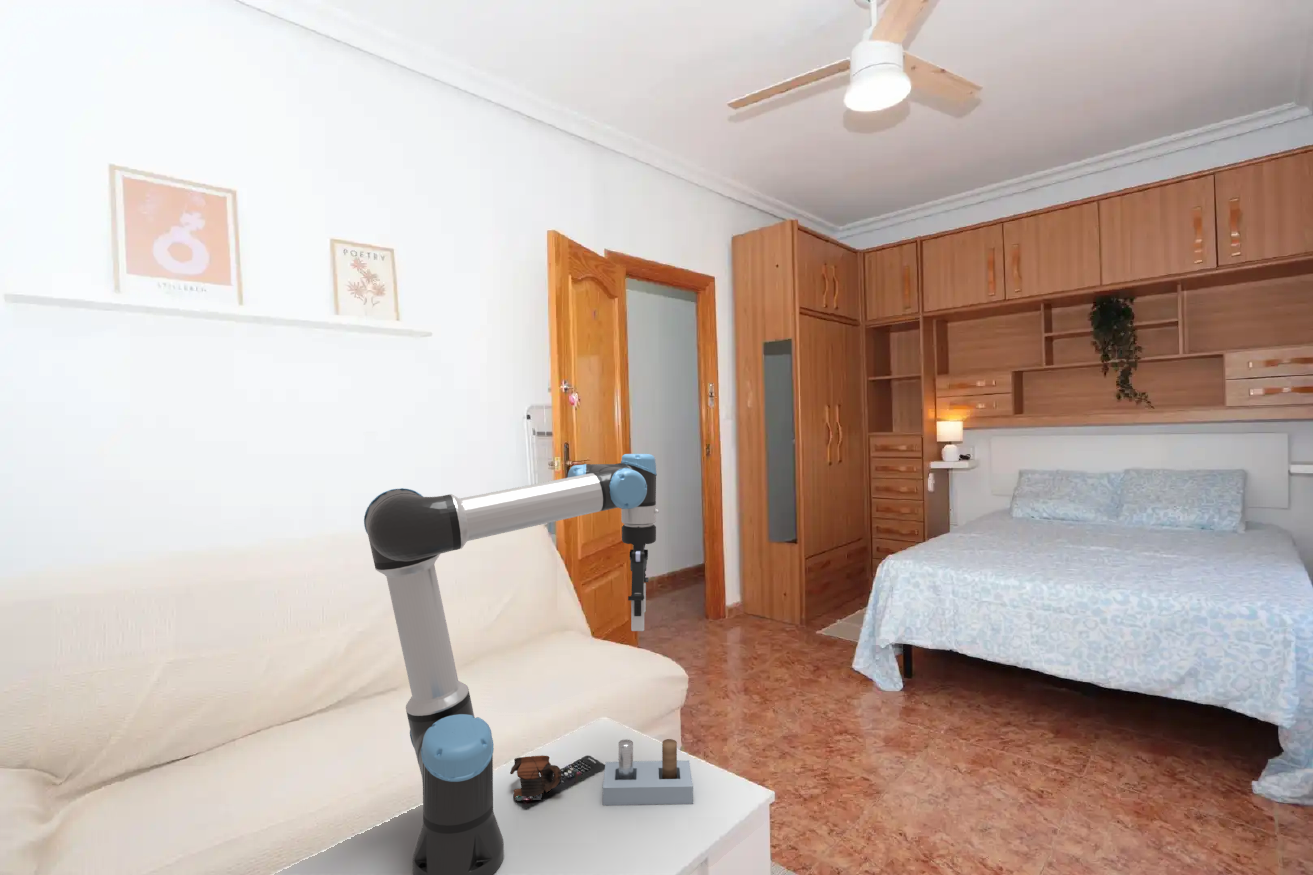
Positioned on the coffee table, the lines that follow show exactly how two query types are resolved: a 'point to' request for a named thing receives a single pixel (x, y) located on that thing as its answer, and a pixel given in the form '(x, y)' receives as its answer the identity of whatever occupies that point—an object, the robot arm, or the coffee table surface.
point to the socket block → (647, 785)
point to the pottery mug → (535, 775)
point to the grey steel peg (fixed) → (625, 760)
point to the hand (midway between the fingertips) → (638, 620)
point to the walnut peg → (669, 759)
